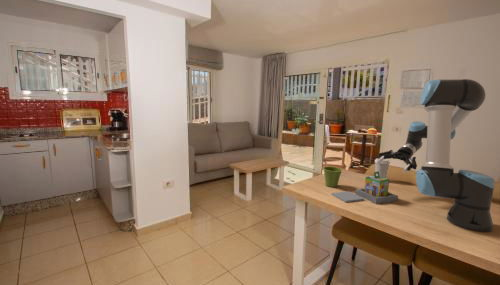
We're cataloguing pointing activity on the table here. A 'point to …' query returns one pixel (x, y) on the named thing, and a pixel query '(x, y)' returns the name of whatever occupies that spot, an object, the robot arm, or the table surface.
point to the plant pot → (332, 176)
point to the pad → (347, 196)
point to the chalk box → (376, 185)
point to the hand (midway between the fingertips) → (390, 166)
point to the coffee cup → (382, 167)
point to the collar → (374, 199)
